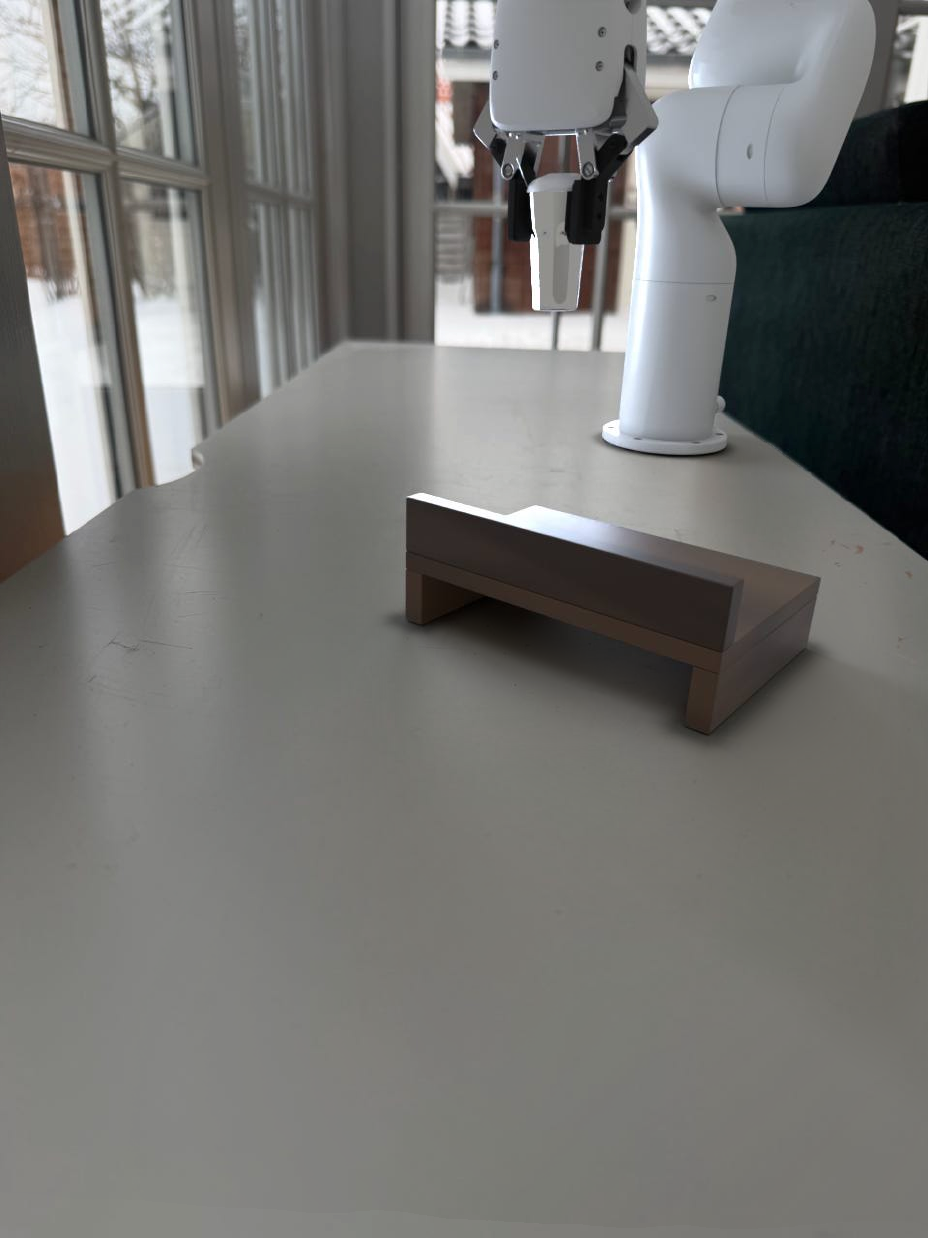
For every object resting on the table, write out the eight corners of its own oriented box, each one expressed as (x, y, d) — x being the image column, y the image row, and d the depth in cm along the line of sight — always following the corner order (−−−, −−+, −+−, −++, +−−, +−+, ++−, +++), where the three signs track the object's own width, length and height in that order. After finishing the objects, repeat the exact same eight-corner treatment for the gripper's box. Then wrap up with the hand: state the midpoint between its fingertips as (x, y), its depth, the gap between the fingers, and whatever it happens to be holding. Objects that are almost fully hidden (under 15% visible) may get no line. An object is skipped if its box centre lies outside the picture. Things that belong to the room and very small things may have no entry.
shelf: (531, 564, 57) (538, 457, 54) (806, 647, 47) (833, 521, 44) (404, 619, 49) (405, 496, 46) (708, 735, 38) (733, 586, 36)
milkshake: (510, 307, 67) (511, 160, 63) (579, 306, 68) (585, 160, 64) (517, 312, 63) (520, 155, 59) (591, 311, 63) (599, 154, 59)
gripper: (723, -80, 53) (685, 247, 61) (502, -39, 63) (493, 238, 71) (664, -114, 48) (630, 248, 56) (432, -64, 58) (431, 238, 66)
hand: (553, 239), depth 63 cm, fingers closed on milkshake, 4 cm apart
